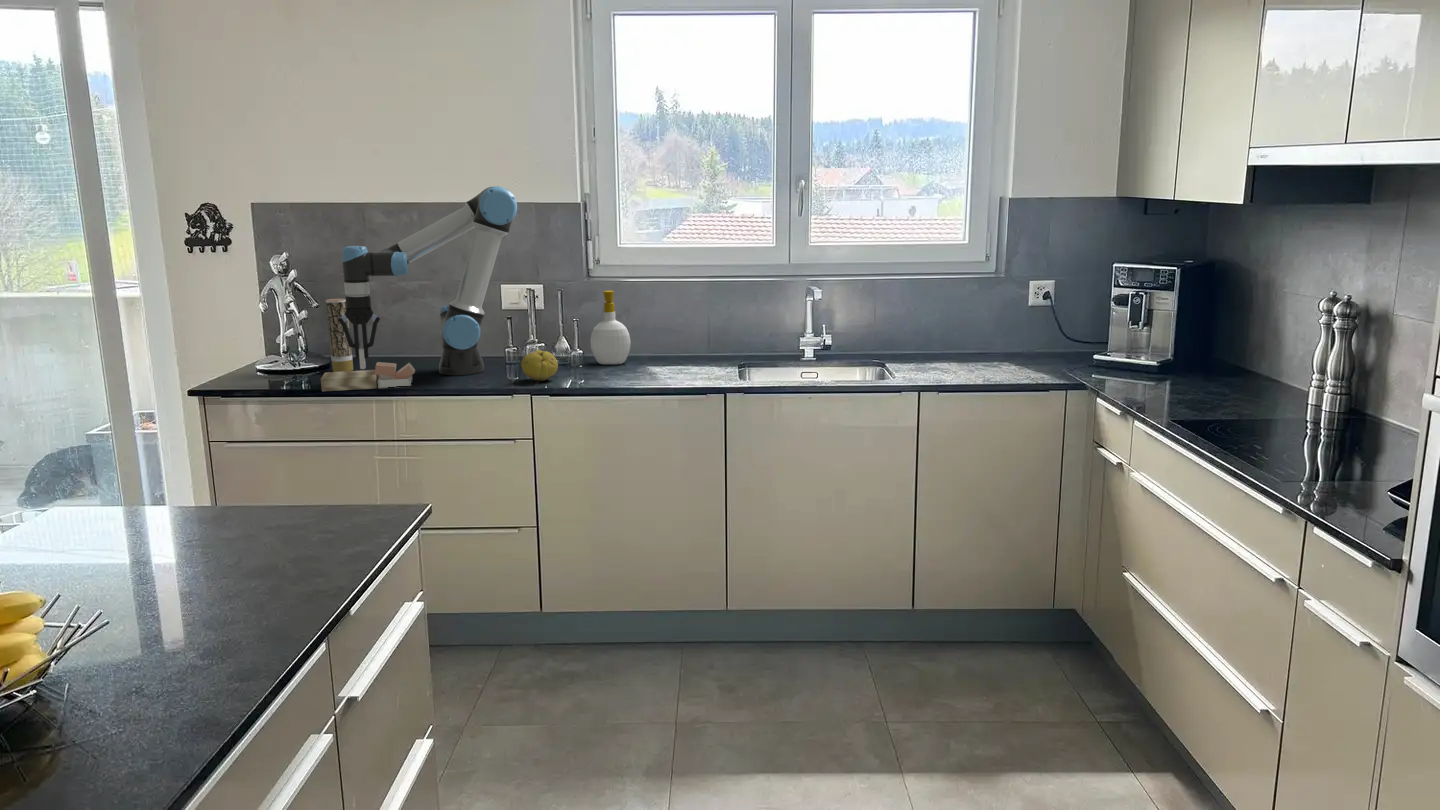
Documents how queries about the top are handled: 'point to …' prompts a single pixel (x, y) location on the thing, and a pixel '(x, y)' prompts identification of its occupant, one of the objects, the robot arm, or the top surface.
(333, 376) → the board
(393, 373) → the tile
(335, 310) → the bark textured cylinder
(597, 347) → the soap bottle
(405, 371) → the tile
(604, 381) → the top surface
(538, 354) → the fruit
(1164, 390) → the top surface
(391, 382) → the tray
